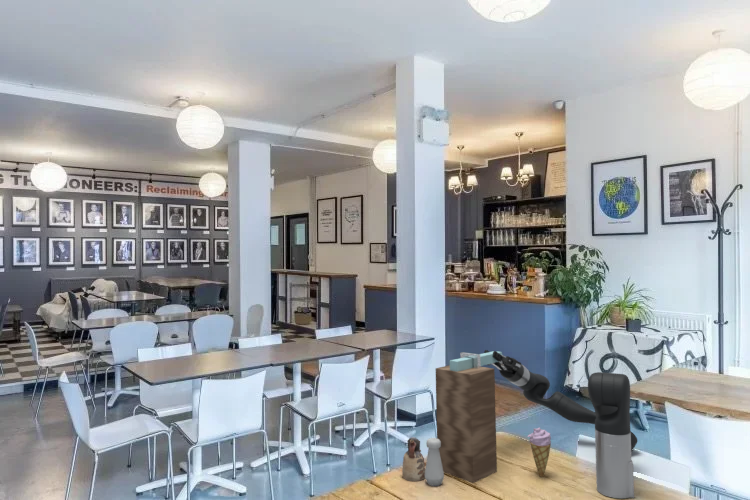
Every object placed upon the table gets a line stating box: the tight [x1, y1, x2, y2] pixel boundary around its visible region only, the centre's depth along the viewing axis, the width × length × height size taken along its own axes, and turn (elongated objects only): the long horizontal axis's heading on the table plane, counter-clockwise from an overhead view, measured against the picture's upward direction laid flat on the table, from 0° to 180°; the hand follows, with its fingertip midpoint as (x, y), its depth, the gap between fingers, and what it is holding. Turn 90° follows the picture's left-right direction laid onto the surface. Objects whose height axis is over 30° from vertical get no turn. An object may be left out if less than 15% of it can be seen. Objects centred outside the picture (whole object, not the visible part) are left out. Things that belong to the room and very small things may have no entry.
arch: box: [459, 351, 482, 369], centre depth 165 cm, size 7×2×4 cm, turn 42°
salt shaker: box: [424, 437, 445, 487], centre depth 153 cm, size 6×6×13 cm
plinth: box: [435, 364, 498, 484], centre depth 162 cm, size 14×12×32 cm
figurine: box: [401, 436, 426, 482], centre depth 158 cm, size 7×7×12 cm
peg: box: [449, 350, 503, 372], centre depth 168 cm, size 24×3×3 cm, turn 132°
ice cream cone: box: [527, 427, 552, 478], centre depth 157 cm, size 7×6×15 cm
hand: (489, 353), depth 172 cm, fingers closed on peg, 3 cm apart
